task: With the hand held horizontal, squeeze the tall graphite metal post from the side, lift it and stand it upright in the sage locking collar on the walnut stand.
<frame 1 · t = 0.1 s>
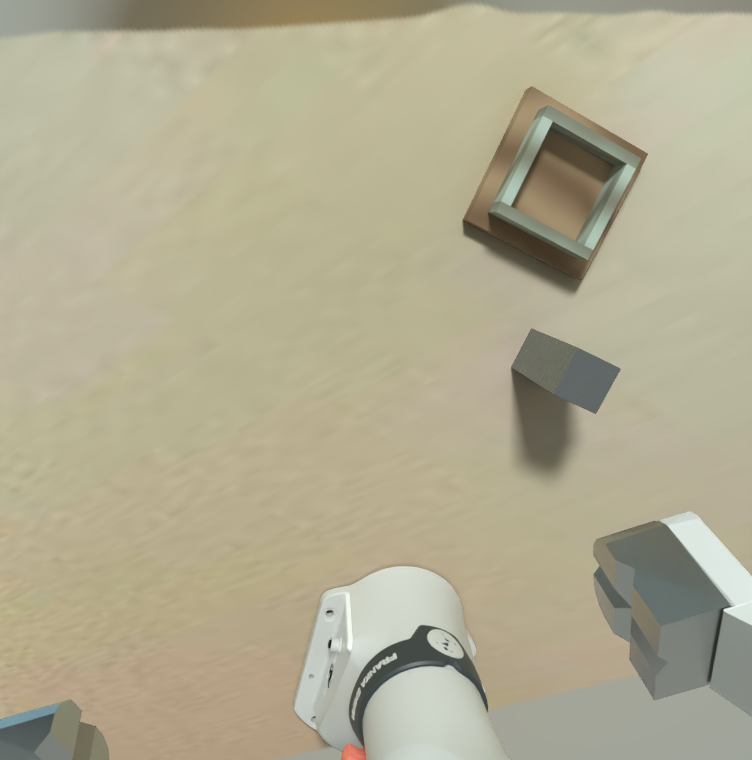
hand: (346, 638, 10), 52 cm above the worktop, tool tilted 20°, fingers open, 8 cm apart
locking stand: (551, 187, 60), on the worktop
graphite post: (539, 356, 64), on the worktop
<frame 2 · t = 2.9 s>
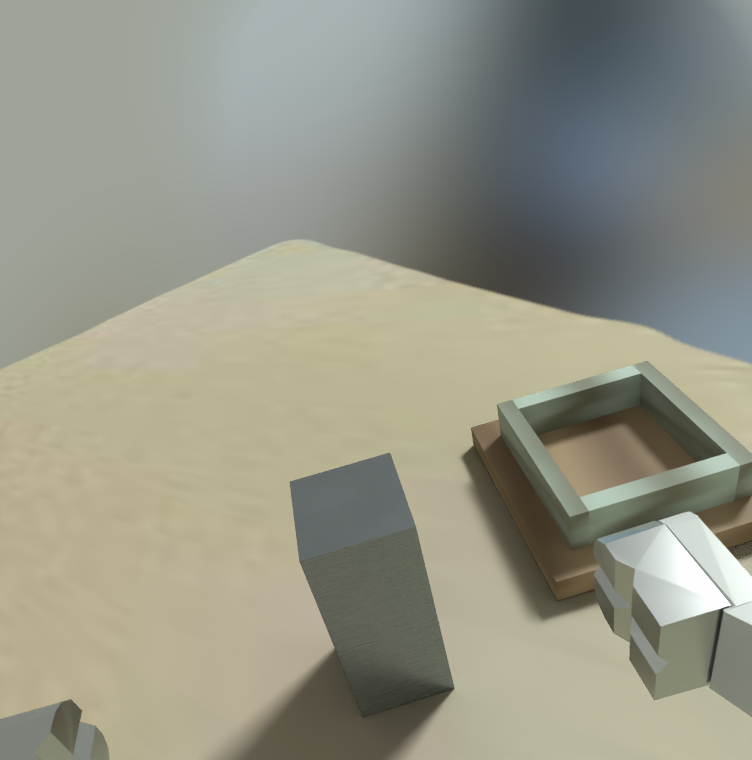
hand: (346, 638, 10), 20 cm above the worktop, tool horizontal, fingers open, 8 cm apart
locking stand: (612, 480, 37), on the worktop
graphite post: (398, 660, 31), on the worktop
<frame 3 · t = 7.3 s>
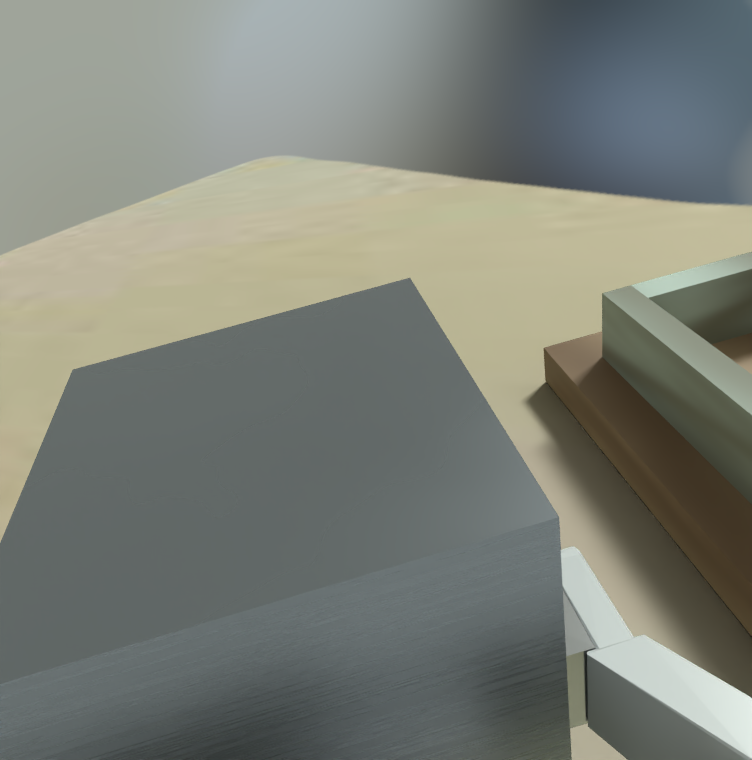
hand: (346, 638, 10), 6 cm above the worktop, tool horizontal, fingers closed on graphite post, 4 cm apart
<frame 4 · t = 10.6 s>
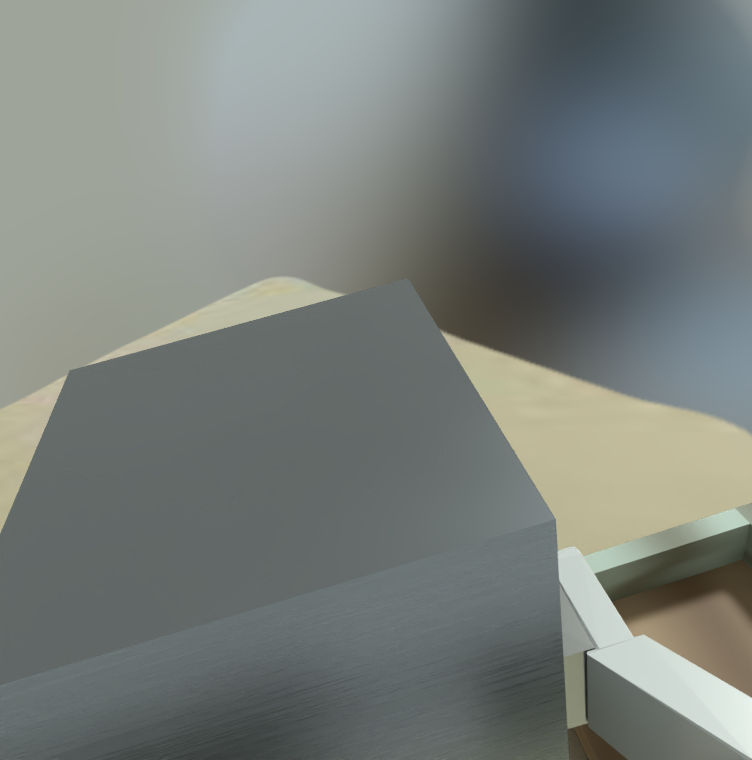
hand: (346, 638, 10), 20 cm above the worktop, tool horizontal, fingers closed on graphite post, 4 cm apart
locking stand: (716, 681, 27), on the worktop
when the fingers open (9 cm above the worktop, at t = 13.9 s): graphite post drops 1 cm, resting on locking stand.
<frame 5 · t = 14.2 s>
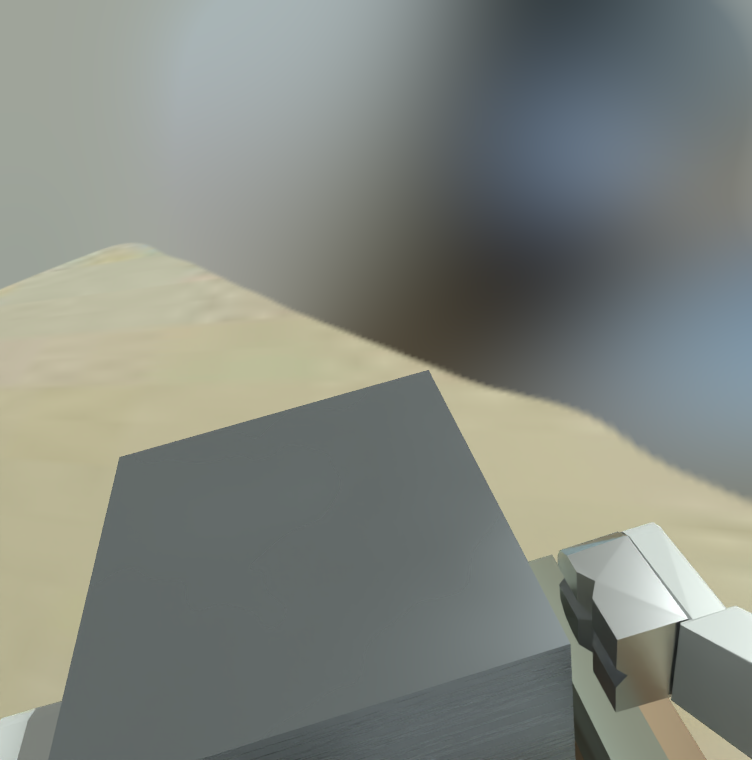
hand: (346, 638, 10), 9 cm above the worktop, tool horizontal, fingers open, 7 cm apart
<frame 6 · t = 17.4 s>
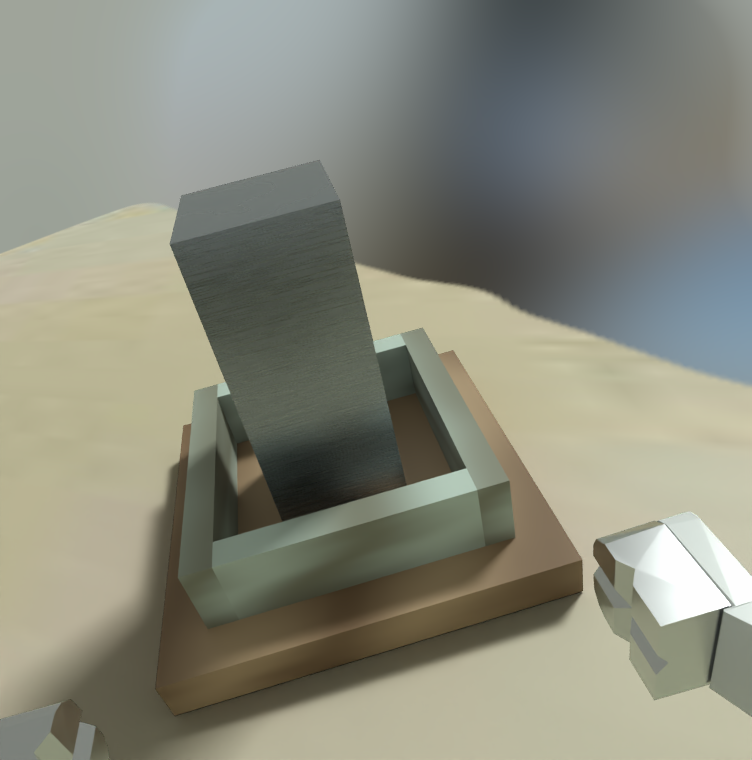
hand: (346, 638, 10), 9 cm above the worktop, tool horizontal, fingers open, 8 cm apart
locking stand: (349, 506, 25), on the worktop
graphite post: (341, 480, 24), point 1 cm above the worktop, touching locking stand
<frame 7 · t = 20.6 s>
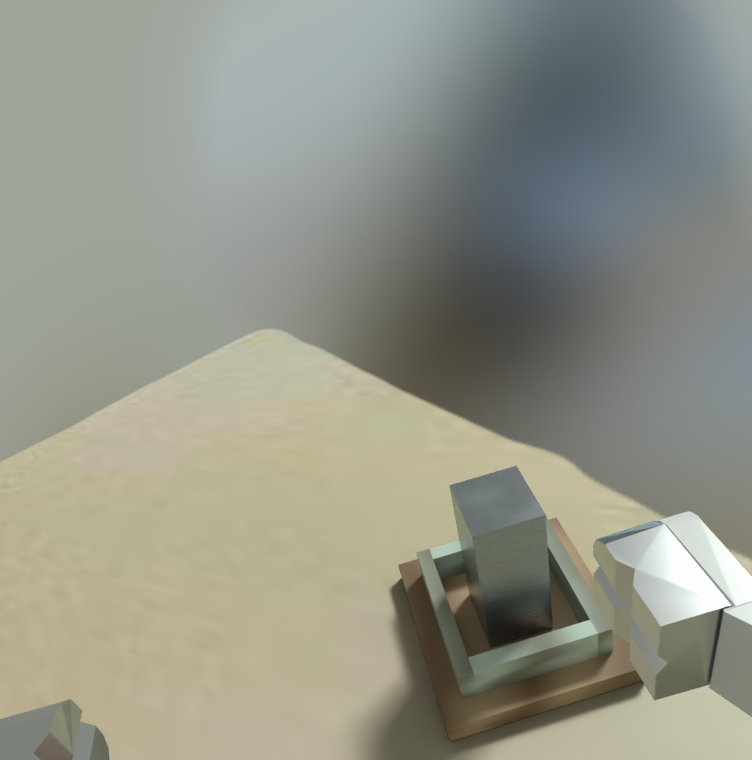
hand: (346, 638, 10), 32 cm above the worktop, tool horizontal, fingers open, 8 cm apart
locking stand: (510, 622, 44), on the worktop
graphite post: (509, 610, 44), point 1 cm above the worktop, touching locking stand
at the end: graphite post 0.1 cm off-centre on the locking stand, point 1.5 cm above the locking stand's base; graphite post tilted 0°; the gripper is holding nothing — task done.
